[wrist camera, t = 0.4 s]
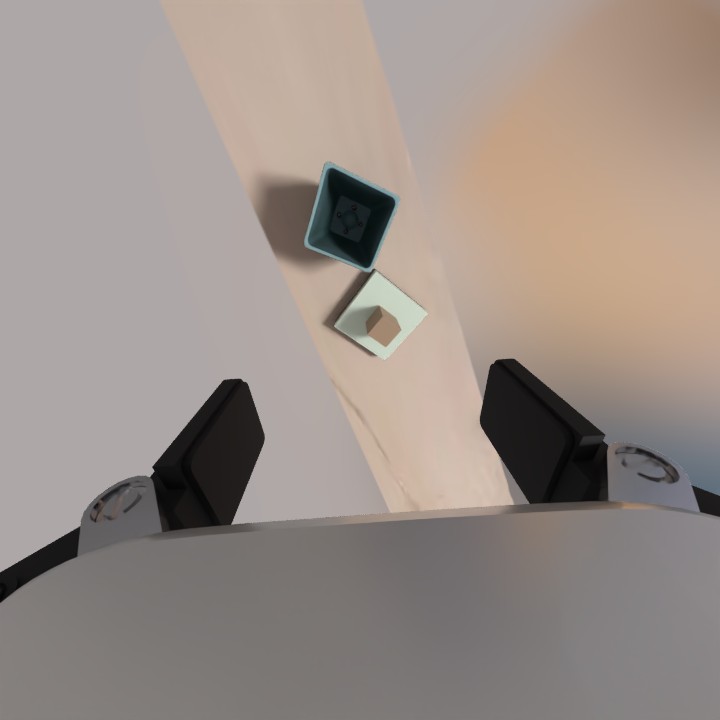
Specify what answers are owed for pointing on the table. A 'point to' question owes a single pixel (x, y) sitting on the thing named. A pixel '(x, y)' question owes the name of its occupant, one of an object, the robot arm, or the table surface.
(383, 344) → the lid
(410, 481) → the table surface
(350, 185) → the flower pot
